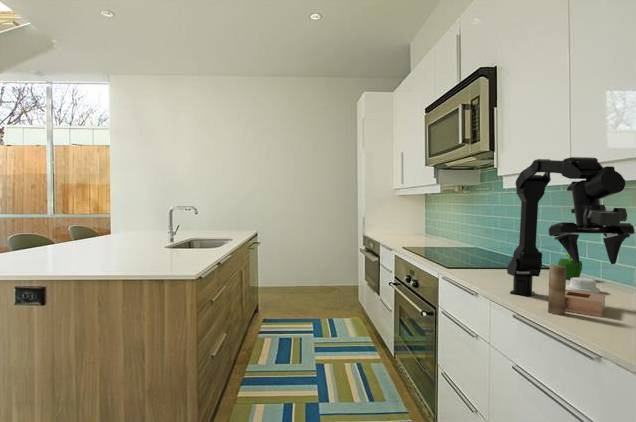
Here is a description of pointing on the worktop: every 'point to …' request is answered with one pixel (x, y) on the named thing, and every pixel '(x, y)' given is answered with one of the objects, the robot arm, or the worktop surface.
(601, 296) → the hollow square frame
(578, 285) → the mechanical component
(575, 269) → the bell pepper
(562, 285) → the pin
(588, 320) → the worktop surface
